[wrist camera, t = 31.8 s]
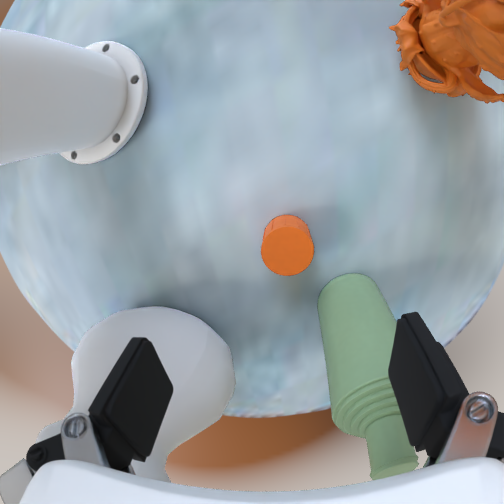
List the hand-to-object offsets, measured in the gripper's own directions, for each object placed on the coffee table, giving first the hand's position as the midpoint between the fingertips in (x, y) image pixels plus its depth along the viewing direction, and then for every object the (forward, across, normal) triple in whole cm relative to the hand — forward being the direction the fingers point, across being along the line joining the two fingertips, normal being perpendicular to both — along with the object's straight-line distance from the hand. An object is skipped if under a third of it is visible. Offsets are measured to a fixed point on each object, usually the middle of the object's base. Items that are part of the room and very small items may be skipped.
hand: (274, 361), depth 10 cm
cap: (+16, -1, +1) cm, 16 cm away
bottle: (+16, -6, +8) cm, 19 cm away
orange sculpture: (+16, -17, -15) cm, 28 cm away
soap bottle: (+16, +13, +11) cm, 23 cm away
